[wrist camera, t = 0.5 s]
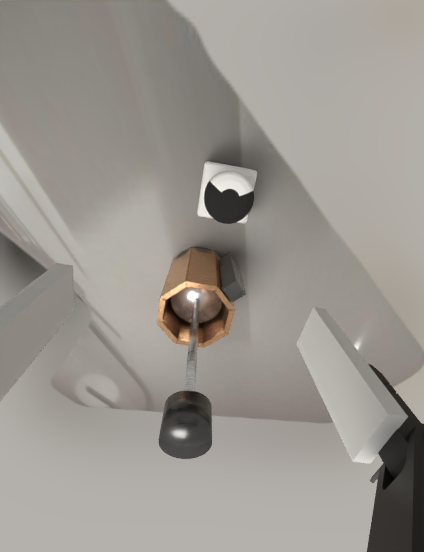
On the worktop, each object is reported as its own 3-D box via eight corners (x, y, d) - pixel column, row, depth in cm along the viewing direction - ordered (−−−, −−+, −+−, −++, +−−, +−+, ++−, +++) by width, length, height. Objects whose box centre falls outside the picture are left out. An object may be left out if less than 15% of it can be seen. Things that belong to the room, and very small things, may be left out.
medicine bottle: (240, 214, 43) (251, 233, 32) (198, 207, 43) (195, 224, 32) (250, 168, 40) (265, 173, 29) (205, 160, 40) (204, 161, 29)
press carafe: (158, 267, 47) (140, 308, 34) (216, 229, 44) (219, 258, 32) (192, 307, 51) (187, 358, 38) (247, 275, 48) (261, 317, 35)
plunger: (161, 293, 39) (112, 434, 19) (203, 266, 37) (197, 391, 17) (191, 327, 42) (175, 483, 22) (231, 304, 40) (254, 449, 20)
